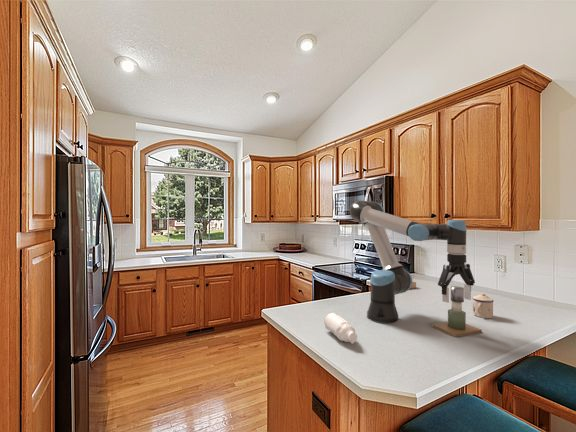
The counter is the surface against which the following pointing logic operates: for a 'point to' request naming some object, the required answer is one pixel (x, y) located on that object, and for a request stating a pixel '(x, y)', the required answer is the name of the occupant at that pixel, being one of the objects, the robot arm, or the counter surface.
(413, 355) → the counter surface
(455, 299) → the cap
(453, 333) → the brown board with cylinder
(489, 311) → the teacup with lid
